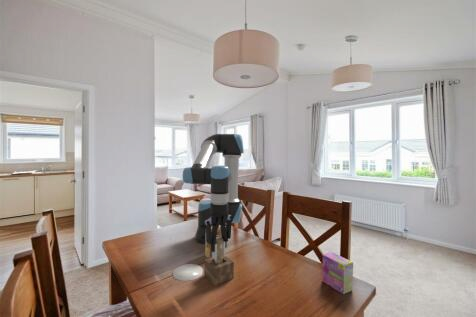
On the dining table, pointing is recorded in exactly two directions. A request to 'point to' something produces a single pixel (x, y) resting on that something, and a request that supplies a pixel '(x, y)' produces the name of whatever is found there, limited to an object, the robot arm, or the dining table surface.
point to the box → (337, 272)
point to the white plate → (187, 272)
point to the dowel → (219, 250)
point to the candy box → (208, 246)
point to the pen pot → (219, 270)
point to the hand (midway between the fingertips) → (218, 257)
